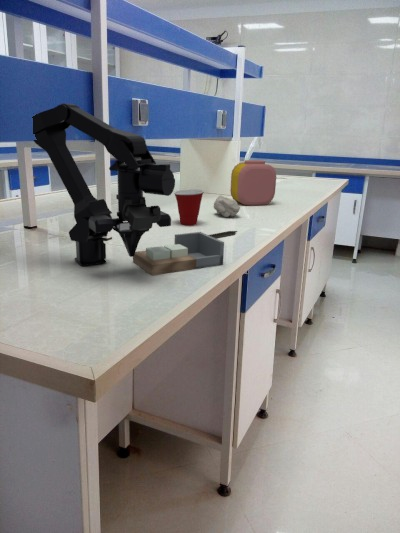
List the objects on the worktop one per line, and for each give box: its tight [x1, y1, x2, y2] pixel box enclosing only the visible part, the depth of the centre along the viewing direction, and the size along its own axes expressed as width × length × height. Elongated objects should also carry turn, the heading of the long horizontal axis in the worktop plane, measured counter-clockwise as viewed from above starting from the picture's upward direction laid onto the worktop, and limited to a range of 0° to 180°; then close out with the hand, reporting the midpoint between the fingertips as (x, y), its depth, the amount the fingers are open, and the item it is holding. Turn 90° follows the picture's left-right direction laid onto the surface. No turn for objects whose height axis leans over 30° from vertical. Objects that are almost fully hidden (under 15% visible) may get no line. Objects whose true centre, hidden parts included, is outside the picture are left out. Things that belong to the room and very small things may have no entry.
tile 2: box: [163, 244, 188, 258], centre depth 114 cm, size 4×4×2 cm
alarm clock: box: [229, 159, 277, 206], centre depth 203 cm, size 18×11×19 cm, turn 108°
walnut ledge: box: [132, 250, 197, 276], centre depth 114 cm, size 12×12×2 cm
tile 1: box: [145, 245, 170, 260], centre depth 112 cm, size 4×4×2 cm
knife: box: [208, 230, 238, 239], centre depth 143 cm, size 25×6×1 cm, turn 127°
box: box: [173, 231, 225, 269], centre depth 118 cm, size 8×12×6 cm, turn 30°
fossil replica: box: [213, 195, 241, 218], centre depth 176 cm, size 12×8×10 cm
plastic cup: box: [173, 188, 205, 226], centre depth 159 cm, size 11×11×12 cm
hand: (131, 256), depth 108 cm, fingers closed
